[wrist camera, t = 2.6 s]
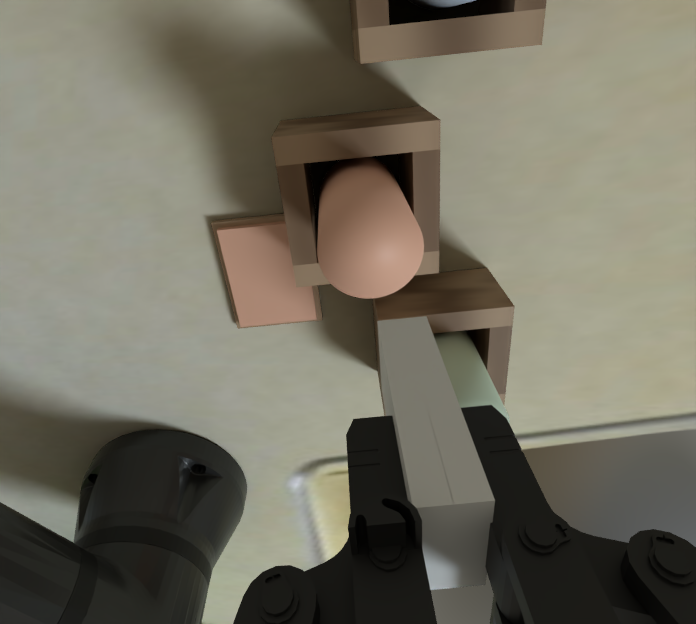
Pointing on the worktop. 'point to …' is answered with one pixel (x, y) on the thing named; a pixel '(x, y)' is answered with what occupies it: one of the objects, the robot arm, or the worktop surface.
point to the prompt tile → (263, 273)
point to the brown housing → (355, 142)
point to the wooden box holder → (444, 30)
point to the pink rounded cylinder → (366, 230)
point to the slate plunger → (438, 3)
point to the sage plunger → (467, 371)
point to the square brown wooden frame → (457, 314)
